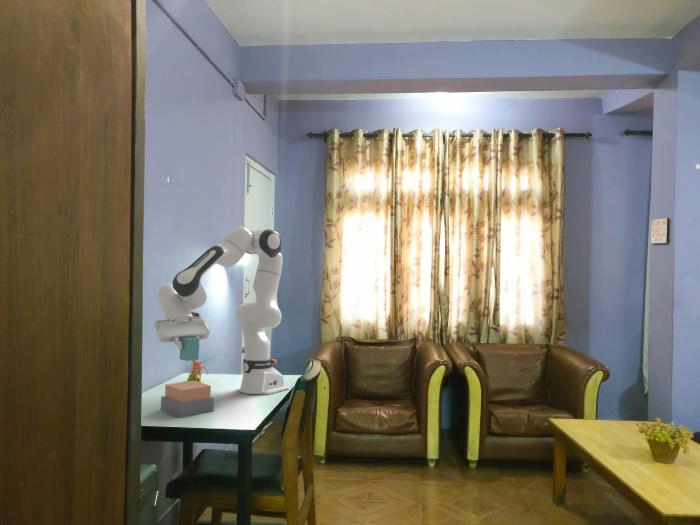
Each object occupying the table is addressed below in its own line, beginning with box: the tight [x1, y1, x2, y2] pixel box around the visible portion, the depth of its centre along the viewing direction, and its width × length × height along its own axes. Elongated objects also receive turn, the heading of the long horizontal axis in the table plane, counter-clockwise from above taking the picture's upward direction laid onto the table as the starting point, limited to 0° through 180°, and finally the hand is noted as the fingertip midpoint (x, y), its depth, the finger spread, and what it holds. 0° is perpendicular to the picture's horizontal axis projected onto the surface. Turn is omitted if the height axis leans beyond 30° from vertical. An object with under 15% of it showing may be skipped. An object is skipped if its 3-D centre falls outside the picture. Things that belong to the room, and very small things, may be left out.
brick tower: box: [160, 381, 215, 419], centre depth 198 cm, size 14×14×10 cm
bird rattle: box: [186, 360, 202, 383], centre depth 247 cm, size 6×11×9 cm
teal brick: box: [179, 337, 200, 362], centre depth 198 cm, size 5×5×8 cm
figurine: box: [188, 362, 209, 382], centre depth 229 cm, size 8×6×12 cm
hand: (190, 347), depth 198 cm, fingers closed on teal brick, 5 cm apart
